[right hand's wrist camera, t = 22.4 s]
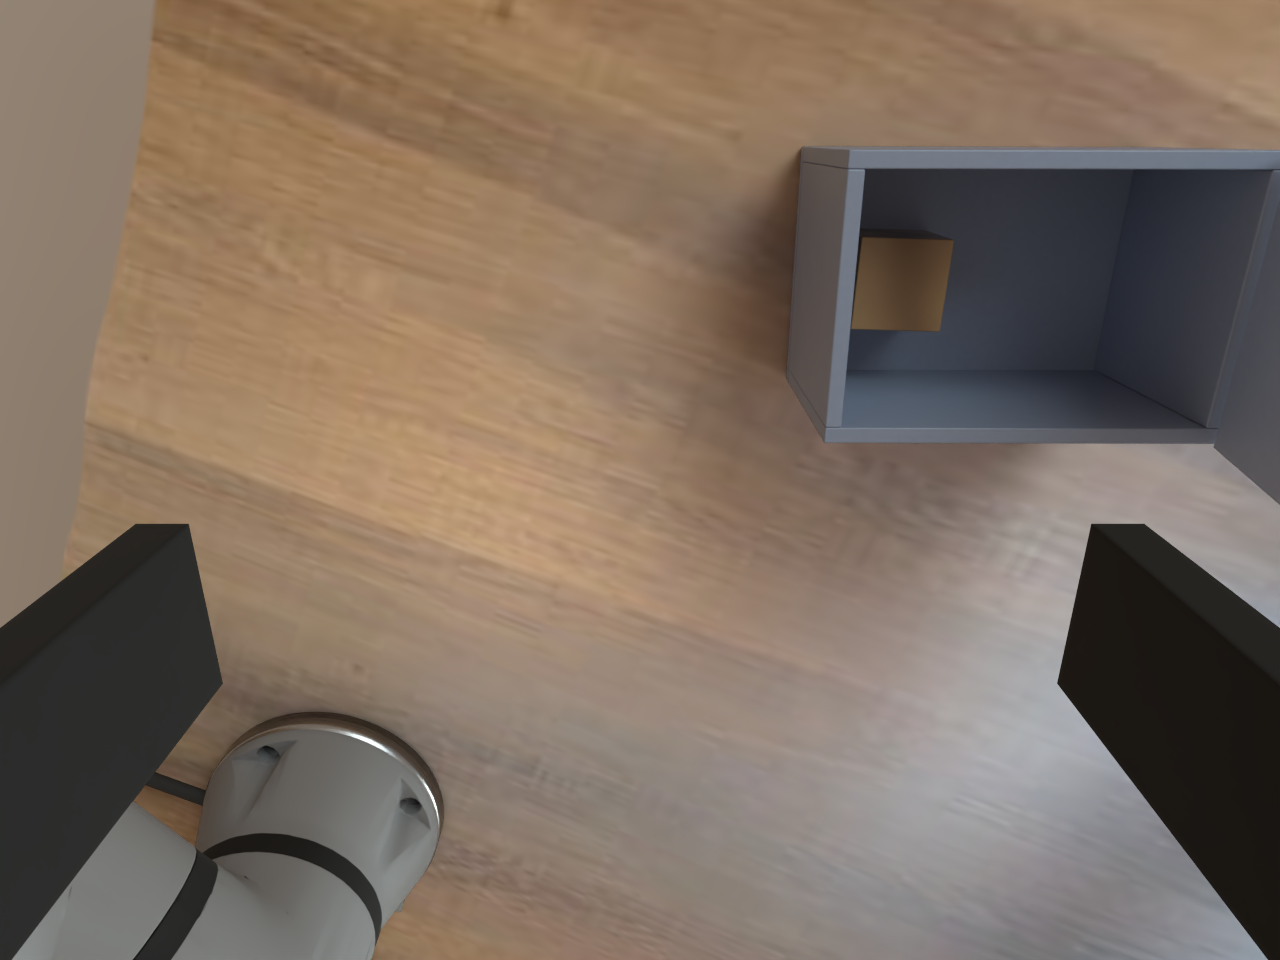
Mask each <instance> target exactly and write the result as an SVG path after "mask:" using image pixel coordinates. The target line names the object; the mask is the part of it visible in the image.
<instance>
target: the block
mask: <svg viewBox="0 0 1280 960" xmlns="http://www.w3.org/2000/svg"><path fill="white" fill-rule="evenodd" d="M953 246H954V240H953V239H950V238H947V237H944V236H941V235H938V234H935V233H932V232H929V231H926V230H899V229H867V228H860V231H859V242H858V252H857V263H856V274H855V285H854V295H853V306H852V317H851V328H850V329H859V330H892V331H925V332H939V331H940V326H941V320H942V314H943V308H944V302H945V295H946V289H947V283H948V277H949V271H950V264H951V258H952V252H953Z"/></svg>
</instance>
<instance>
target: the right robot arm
mask: <svg viewBox="0 0 1280 960" xmlns="http://www.w3.org/2000/svg"><path fill="white" fill-rule="evenodd" d="M222 684H223V682H222V678H221V673H220V668H219V664H218V659H217V654H216V650H215V645H214V640H213V636H212V631H211V626H210V622H209V617H208V612H207V608H206V603H205V598H204V594H203V589H202V584H201V580H200V575H199V570H198V566H197V561H196V556H195V552H194V547H193V542H192V538H191V533H190V528H189V524H135V525H134V526H133V527H131V528H130V529H129V530H127V531H126V532H125V533H123V534H122V535H121V536H120V537H118V538H117V539H116V540H114V541H113V542H112V543H110V544H109V545H108V546H106V547H105V548H104V549H103V550H101V551H100V552H99V553H97V554H96V555H95V556H93V557H92V558H91V559H90V560H88V561H87V562H86V563H84V564H83V565H82V566H80V567H79V568H78V569H77V570H75V571H74V572H73V573H71V574H70V575H69V576H67V577H66V578H65V579H64V580H62V581H61V582H60V583H58V584H57V585H56V586H54V587H53V588H52V589H51V590H49V591H48V592H47V593H45V594H44V595H43V596H42V597H40V598H39V599H38V600H36V601H35V602H34V603H32V604H31V605H30V606H28V607H27V608H26V609H25V610H23V611H22V612H21V613H19V614H18V615H17V616H15V617H14V618H13V619H11V620H10V621H9V622H8V623H6V624H5V625H4V626H2V627H1V628H0V960H371V959H372V955H373V952H374V949H375V946H376V943H377V940H378V937H379V933H380V931H381V929H382V927H383V926H384V925H385V923H386V922H387V921H388V919H389V918H390V917H391V916H392V914H393V913H394V912H395V911H398V912H401V910H402V906H403V903H404V900H405V898H406V896H407V895H408V894H409V892H410V891H411V890H412V888H413V887H414V886H415V885H416V883H417V882H418V881H419V879H420V878H421V877H422V875H423V874H424V872H425V871H426V870H427V868H428V867H429V865H430V863H431V861H432V859H433V857H434V854H435V851H436V848H437V844H438V841H439V837H440V834H441V830H442V826H443V819H444V807H443V800H442V795H441V791H440V789H439V786H438V783H437V781H436V779H435V777H434V775H433V773H432V772H431V770H430V769H429V767H428V766H427V764H426V763H425V762H424V761H423V759H422V758H421V757H420V756H419V755H418V754H417V753H416V752H415V751H414V750H413V749H412V748H411V747H410V746H409V745H408V744H406V743H405V742H404V741H402V740H401V739H400V738H398V737H397V736H395V735H394V734H392V733H390V732H389V731H387V730H385V729H383V728H381V727H379V726H377V725H375V724H372V723H370V722H367V721H364V720H361V719H358V718H355V717H351V716H347V715H342V714H336V713H327V712H303V713H294V714H288V715H284V716H280V717H276V718H273V719H271V720H268V721H265V722H263V723H261V724H259V725H257V726H255V727H254V728H252V729H250V730H249V731H247V732H246V733H245V734H243V735H242V736H241V737H240V738H239V739H238V740H237V741H236V742H235V743H234V744H233V745H232V746H231V747H230V749H229V750H228V751H227V753H226V754H225V756H224V757H223V759H222V760H221V762H220V763H219V765H218V766H217V768H216V769H215V771H214V773H213V774H212V776H211V778H210V781H209V783H208V786H207V789H206V791H205V790H203V789H200V788H197V787H194V786H192V785H189V784H186V783H183V782H180V781H178V780H175V779H172V778H169V777H167V776H164V775H161V774H159V773H156V772H155V771H156V770H157V769H158V768H159V766H160V765H161V764H162V762H163V761H164V760H165V758H166V757H167V756H168V754H169V753H170V752H171V751H172V749H173V748H174V747H175V745H176V744H177V743H178V741H179V740H180V739H181V737H182V736H183V735H184V733H185V732H186V731H187V730H188V728H189V727H190V726H191V724H192V723H193V722H194V720H195V719H196V718H197V716H198V715H199V714H200V713H201V711H202V710H203V709H204V707H205V706H206V705H207V703H208V702H209V701H210V699H211V698H212V697H213V695H214V694H215V693H216V692H217V690H218V689H219V688H220V686H221V685H222ZM1057 684H1058V685H1059V686H1060V688H1061V689H1062V690H1063V692H1064V693H1065V694H1066V695H1067V697H1068V698H1069V699H1070V701H1071V702H1072V703H1073V705H1074V706H1075V707H1076V709H1077V710H1078V711H1079V713H1080V714H1081V715H1082V716H1083V718H1084V719H1085V720H1086V722H1087V723H1088V724H1089V726H1090V727H1091V728H1092V730H1093V731H1094V732H1095V733H1096V735H1097V736H1098V737H1099V739H1100V740H1101V741H1102V743H1103V744H1104V745H1105V747H1106V748H1107V749H1108V751H1109V752H1110V753H1111V754H1112V756H1113V757H1114V758H1115V760H1116V761H1117V762H1118V764H1119V765H1120V766H1121V768H1122V769H1123V770H1124V771H1125V773H1126V774H1127V775H1128V777H1129V778H1130V779H1131V781H1132V782H1133V783H1134V785H1135V786H1136V787H1137V789H1138V790H1139V791H1140V792H1141V794H1142V795H1143V796H1144V798H1145V799H1146V800H1147V802H1148V803H1149V804H1150V806H1151V807H1152V808H1153V809H1154V811H1155V812H1156V813H1157V815H1158V816H1159V817H1160V819H1161V820H1162V821H1163V823H1164V824H1165V825H1166V827H1167V828H1168V829H1169V830H1170V832H1171V833H1172V834H1173V836H1174V837H1175V838H1176V840H1177V841H1178V842H1179V844H1180V845H1181V846H1182V847H1183V849H1184V850H1185V851H1186V853H1187V854H1188V855H1189V857H1190V858H1191V859H1192V861H1193V862H1194V863H1195V865H1196V866H1197V867H1198V868H1199V870H1200V871H1201V872H1202V874H1203V875H1204V876H1205V878H1206V879H1207V880H1208V882H1209V883H1210V884H1211V885H1212V887H1213V888H1214V889H1215V891H1216V892H1217V893H1218V895H1219V896H1220V897H1221V899H1222V900H1223V901H1224V903H1225V904H1226V905H1227V906H1228V908H1229V909H1230V910H1231V912H1232V913H1233V914H1234V916H1235V917H1236V918H1237V920H1238V921H1239V922H1240V923H1241V925H1242V926H1243V927H1244V929H1245V930H1246V931H1247V933H1248V934H1249V935H1250V937H1251V938H1252V939H1253V941H1254V942H1255V943H1256V944H1257V946H1258V947H1259V948H1260V950H1261V951H1262V952H1263V954H1264V955H1265V956H1266V958H1267V959H1268V960H1280V628H1279V627H1278V626H1276V625H1275V624H1274V623H1272V622H1271V621H1270V620H1269V619H1267V618H1266V617H1265V616H1263V615H1262V614H1261V613H1259V612H1258V611H1257V610H1256V609H1254V608H1253V607H1252V606H1250V605H1249V604H1248V603H1246V602H1245V601H1244V600H1242V599H1241V598H1240V597H1239V596H1237V595H1236V594H1235V593H1233V592H1232V591H1231V590H1229V589H1228V588H1227V587H1226V586H1224V585H1223V584H1222V583H1220V582H1219V581H1218V580H1216V579H1215V578H1214V577H1213V576H1211V575H1210V574H1209V573H1207V572H1206V571H1205V570H1203V569H1202V568H1201V567H1200V566H1198V565H1197V564H1196V563H1194V562H1193V561H1192V560H1190V559H1189V558H1188V557H1187V556H1185V555H1184V554H1183V553H1181V552H1180V551H1179V550H1177V549H1176V548H1175V547H1174V546H1172V545H1171V544H1170V543H1168V542H1167V541H1166V540H1164V539H1163V538H1162V537H1160V536H1159V535H1158V534H1157V533H1155V532H1154V531H1153V530H1151V529H1150V528H1149V527H1147V526H1146V525H1145V524H1091V528H1090V533H1089V538H1088V542H1087V547H1086V552H1085V556H1084V561H1083V566H1082V570H1081V575H1080V580H1079V584H1078V589H1077V594H1076V598H1075V603H1074V608H1073V612H1072V617H1071V622H1070V626H1069V631H1068V636H1067V640H1066V645H1065V650H1064V654H1063V659H1062V664H1061V668H1060V673H1059V678H1058V682H1057ZM145 785H147V786H150V787H152V788H155V789H158V790H161V791H163V792H166V793H169V794H172V795H174V796H177V797H180V798H183V799H185V800H188V801H191V802H194V803H196V804H199V805H202V806H203V807H202V812H201V817H200V823H199V828H198V833H197V838H196V844H195V847H194V846H193V845H192V844H190V843H189V842H188V841H186V840H185V839H184V838H182V837H181V836H180V835H178V834H177V833H176V832H174V831H173V830H172V829H170V828H169V827H167V826H166V825H165V824H163V823H162V822H161V821H159V820H158V819H157V818H155V817H154V816H153V815H151V814H150V813H149V812H147V811H146V810H145V809H143V808H142V807H141V806H139V805H138V804H137V803H135V802H134V801H133V800H134V799H135V798H136V796H137V795H138V794H139V792H140V791H141V790H142V789H143V787H144V786H145Z"/></svg>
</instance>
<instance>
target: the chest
mask: <svg viewBox="0 0 1280 960" xmlns="http://www.w3.org/2000/svg"><path fill="white" fill-rule="evenodd" d="M1279 199H1280V150H1255V149H1208V148H1162V147H814V146H803V147H802V148H801V161H800V176H799V191H798V206H797V221H796V236H795V251H794V266H793V281H792V296H791V311H790V326H789V341H788V356H787V371H786V379H787V380H788V383H789V384H790V386H791V388H792V389H793V391H794V393H795V394H796V396H797V398H798V399H799V401H800V403H801V404H802V406H803V408H804V409H805V411H806V413H807V414H808V416H809V418H810V420H811V421H812V423H813V425H814V426H815V428H816V430H817V431H818V433H819V435H820V436H821V438H822V440H823V441H824V443H1115V444H1215V440H1216V437H1217V433H1218V429H1219V425H1220V422H1221V418H1222V414H1223V410H1224V406H1225V403H1226V399H1227V395H1228V391H1229V388H1230V384H1231V380H1232V376H1233V372H1234V369H1235V365H1236V361H1237V357H1238V354H1239V350H1240V346H1241V342H1242V338H1243V335H1244V331H1245V327H1246V323H1247V320H1248V316H1249V312H1250V308H1251V305H1252V301H1253V297H1254V293H1255V289H1256V286H1257V282H1258V278H1259V274H1260V271H1261V267H1262V263H1263V259H1264V255H1265V252H1266V248H1267V244H1268V240H1269V237H1270V233H1271V229H1272V225H1273V221H1274V218H1275V214H1276V210H1277V206H1278V203H1279ZM860 228H867V229H899V230H926V231H929V232H932V233H935V234H938V235H941V236H944V237H947V238H950V239H953V240H954V246H953V252H952V258H951V264H950V271H949V277H948V283H947V289H946V295H945V302H944V308H943V314H942V320H941V326H940V331H939V332H925V331H892V330H859V329H850V328H851V317H852V306H853V295H854V285H855V274H856V263H857V252H858V242H859V231H860Z"/></svg>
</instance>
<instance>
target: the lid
mask: <svg viewBox="0 0 1280 960" xmlns="http://www.w3.org/2000/svg"><path fill="white" fill-rule="evenodd" d="M1214 448H1215V449H1216V450H1217V451H1218V452H1219V453H1221V454H1222V455H1223V456H1224V457H1225V458H1226V459H1228V460H1229V461H1230V462H1231V463H1232V464H1233V465H1234V466H1236V467H1237V468H1238V469H1239V470H1240V471H1241V472H1243V473H1244V474H1245V475H1246V476H1247V477H1248V478H1249V479H1251V480H1252V481H1253V482H1254V483H1255V484H1256V485H1258V486H1259V487H1260V488H1261V489H1262V490H1263V491H1264V492H1266V493H1267V494H1268V495H1269V496H1270V497H1271V498H1273V499H1274V500H1275V501H1276V502H1277V503H1278V504H1280V199H1279V203H1278V206H1277V210H1276V214H1275V218H1274V221H1273V225H1272V229H1271V233H1270V237H1269V240H1268V244H1267V248H1266V252H1265V255H1264V259H1263V263H1262V267H1261V271H1260V274H1259V278H1258V282H1257V286H1256V289H1255V293H1254V297H1253V301H1252V305H1251V308H1250V312H1249V316H1248V320H1247V323H1246V327H1245V331H1244V335H1243V338H1242V342H1241V346H1240V350H1239V354H1238V357H1237V361H1236V365H1235V369H1234V372H1233V376H1232V380H1231V384H1230V388H1229V391H1228V395H1227V399H1226V403H1225V406H1224V410H1223V414H1222V418H1221V422H1220V425H1219V429H1218V433H1217V437H1216V440H1215V444H1214Z"/></svg>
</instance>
